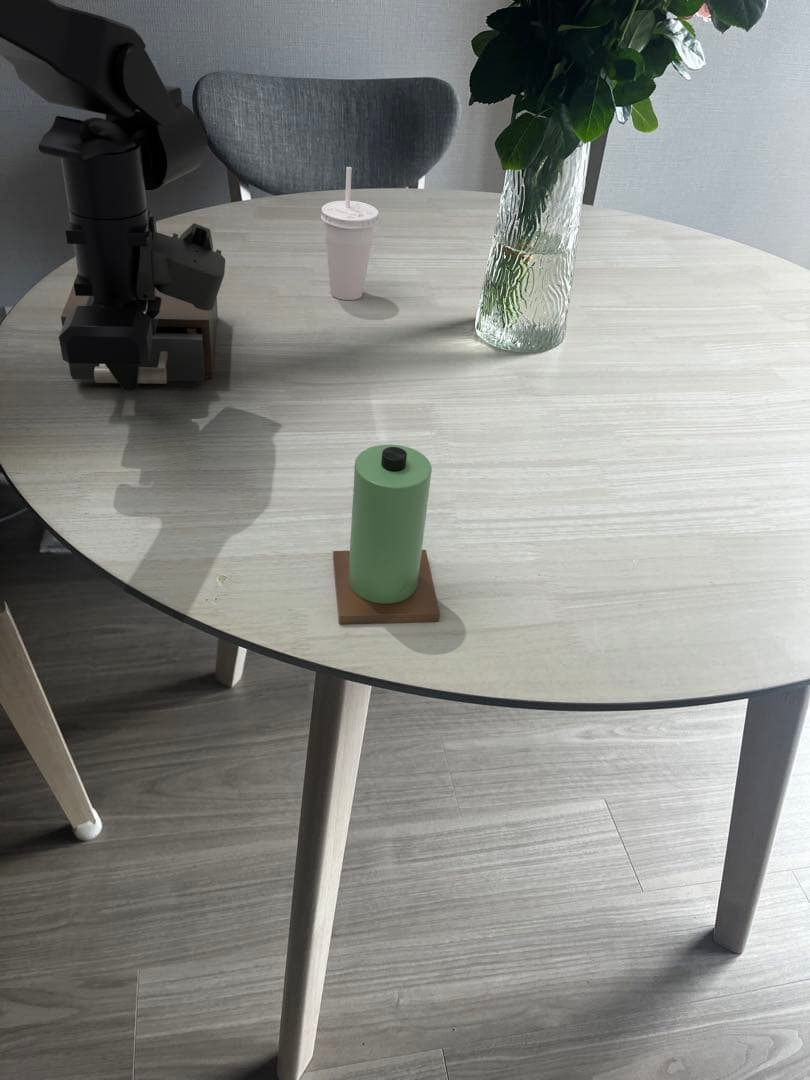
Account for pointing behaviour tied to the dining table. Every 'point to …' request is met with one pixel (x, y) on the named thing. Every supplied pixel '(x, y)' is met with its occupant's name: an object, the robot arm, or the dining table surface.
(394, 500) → the green bottle
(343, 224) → the smoothie
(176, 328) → the drawer
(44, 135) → the robot arm
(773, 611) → the dining table surface
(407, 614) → the plate
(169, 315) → the cabinet
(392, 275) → the dining table surface
